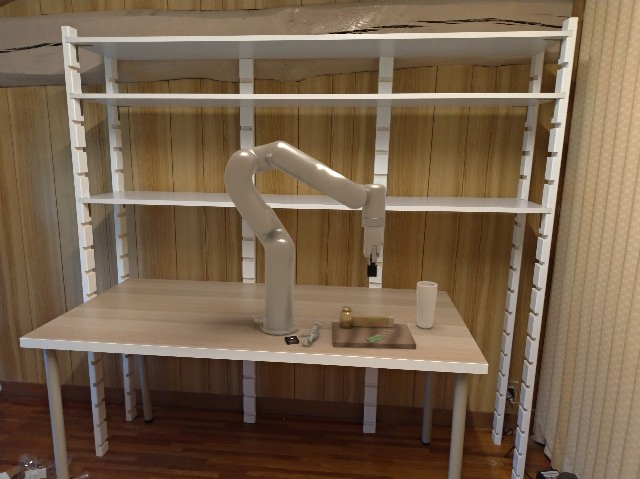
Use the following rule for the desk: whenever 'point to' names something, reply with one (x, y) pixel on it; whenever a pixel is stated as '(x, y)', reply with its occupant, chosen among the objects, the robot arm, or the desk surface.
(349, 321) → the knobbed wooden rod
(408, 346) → the wooden cutting board
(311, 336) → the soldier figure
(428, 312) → the drinking glass
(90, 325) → the desk surface
